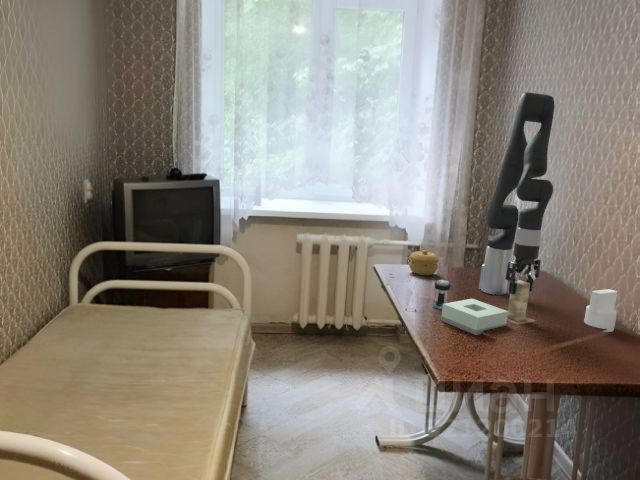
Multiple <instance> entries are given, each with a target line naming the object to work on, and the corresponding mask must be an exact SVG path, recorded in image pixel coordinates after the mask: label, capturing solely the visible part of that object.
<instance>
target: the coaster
mask: <svg viewBox="0 0 640 480" xmlns="http://www.w3.org/2000/svg"><path fill="white" fill-rule="evenodd" d="M507 321H508V322H510V323H514V324H515V325H519V326H520V325H524V324H529V323H532V322H536V321H537V320H536V319H533V318H531V317H527V316H525V319H524V320H520V321H516V320H513V319H510V318H508V317H507Z"/></svg>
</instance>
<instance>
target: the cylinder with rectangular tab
mask: <svg viewBox="0 0 640 480" xmlns="http://www.w3.org/2000/svg"><path fill="white" fill-rule="evenodd" d="M617 297H618V291H617V290H613V289H609V288H608V289H600V290H592V291H591V295H590V300H589V305H586V308H585V315H584V319H583V322H584V323H585V324H586V325H587V326H590V327H593V328H597V329H602V330H601V332H602V333H603V332H604V333H611V332H614V330H615V325H616V320H617V315H618V311H617V309H616V302H617ZM603 329H604V330H603Z"/></svg>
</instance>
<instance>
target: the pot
mask: <svg viewBox="0 0 640 480" xmlns="http://www.w3.org/2000/svg"><path fill="white" fill-rule="evenodd" d="M409 259H410V261H409V262H408V266H409V269H410V271H411V272H412V273H413V274H415V273H416V274H415V275H419V276H431V275H433V274H435V272H437V270H438V268H439V266H438V264H437V263H438V262H439V257H438V256H437V255H436V254H435V253H433V252H430V251H428V250H426V249H423V250H419V251H413V252H412V253H411V254H410V255H409Z"/></svg>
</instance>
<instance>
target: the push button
mask: <svg viewBox="0 0 640 480" xmlns="http://www.w3.org/2000/svg"><path fill="white" fill-rule="evenodd" d="M451 287H452V285H451V284H450V282H449V281H448V280H446V279H437V282H434V288H435V289H436V293H435V299H434V301H433V303H432V308H435V309H438V310H442V307H443V304H445V303H448V301H447V299H448V291H450V290H451Z"/></svg>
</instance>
